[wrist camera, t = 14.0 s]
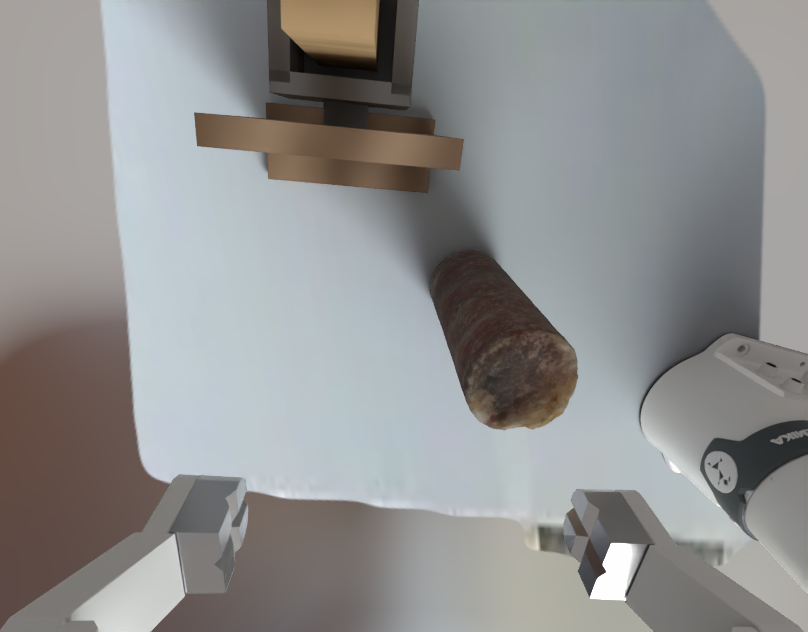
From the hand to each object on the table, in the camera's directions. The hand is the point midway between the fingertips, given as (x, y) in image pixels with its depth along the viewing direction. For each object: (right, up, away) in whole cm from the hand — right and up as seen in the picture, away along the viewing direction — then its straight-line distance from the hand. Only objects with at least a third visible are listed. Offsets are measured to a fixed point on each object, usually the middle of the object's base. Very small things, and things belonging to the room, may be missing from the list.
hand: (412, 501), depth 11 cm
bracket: (-4, +23, +26) cm, 35 cm away
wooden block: (-4, +24, +18) cm, 30 cm away
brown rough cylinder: (+6, +8, +33) cm, 35 cm away
